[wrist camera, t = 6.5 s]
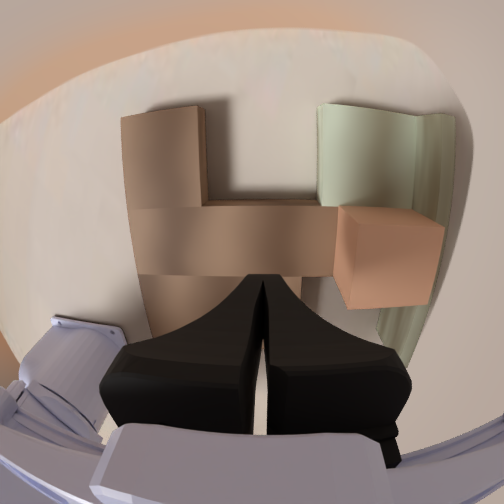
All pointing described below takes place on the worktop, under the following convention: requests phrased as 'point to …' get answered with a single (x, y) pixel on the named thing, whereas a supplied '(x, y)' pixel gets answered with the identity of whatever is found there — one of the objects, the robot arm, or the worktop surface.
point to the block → (385, 256)
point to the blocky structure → (274, 209)
